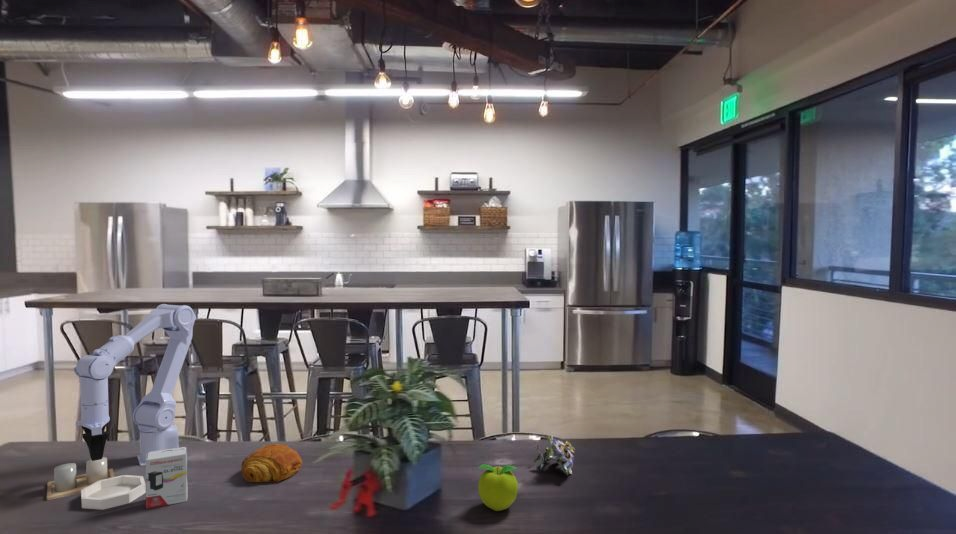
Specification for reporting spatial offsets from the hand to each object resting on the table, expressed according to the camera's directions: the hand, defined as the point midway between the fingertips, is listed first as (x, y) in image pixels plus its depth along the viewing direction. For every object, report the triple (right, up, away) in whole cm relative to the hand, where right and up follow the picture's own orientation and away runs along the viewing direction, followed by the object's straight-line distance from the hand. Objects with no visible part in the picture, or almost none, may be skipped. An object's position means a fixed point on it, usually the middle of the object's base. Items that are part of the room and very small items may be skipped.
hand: (96, 454), depth 138 cm
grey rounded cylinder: (0, -7, 0) cm, 7 cm away
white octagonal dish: (+10, -8, -7) cm, 14 cm away
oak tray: (-3, -7, -1) cm, 8 cm away
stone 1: (-5, -7, -3) cm, 9 cm away
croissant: (+43, -8, +7) cm, 44 cm away
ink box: (+23, -8, -9) cm, 26 cm away
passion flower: (+118, -8, +9) cm, 119 cm away
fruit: (+102, -9, -11) cm, 103 cm away
